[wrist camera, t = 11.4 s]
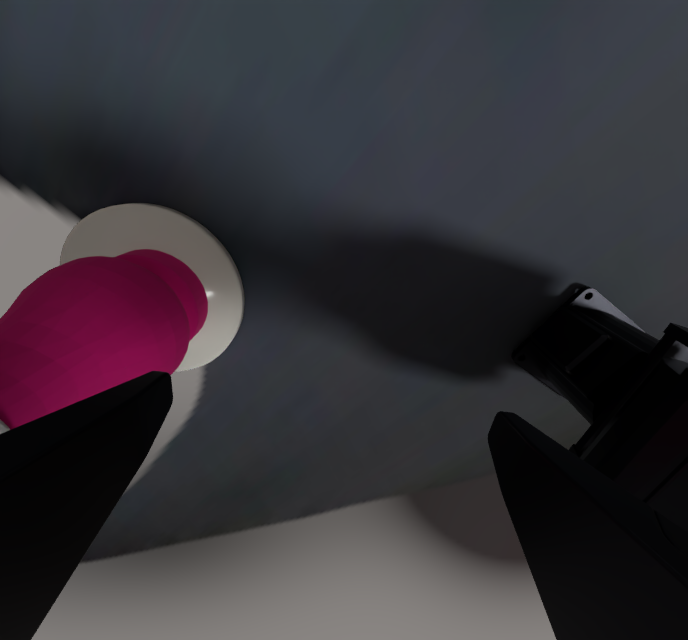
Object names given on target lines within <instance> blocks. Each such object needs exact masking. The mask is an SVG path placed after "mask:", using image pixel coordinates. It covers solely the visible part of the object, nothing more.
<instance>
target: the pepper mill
mask: <svg viewBox="0 0 688 640" xmlns="http://www.w3.org/2000/svg"><path fill="white" fill-rule="evenodd" d="M207 313H208V300H207V296H206V292H205V289H204V287H203V285H202V283H201V281H200V280H199V278H198V277H197V275H196V274H195V273H194V272H193V271H192V270H191V269H190V268H189V267H188V266H187V265H186V264H185V263H183V262H182V261H180V260H179V259H177V258H175V257H174V256H172V255H169V254H167V253H164V252H161V251H158V250H153V249H139V250H133V251H130V252H127V253H124V254H121V255H118V256H116V257H106V256H91V257H84V258H78V259H75V260H72V261H69V262H67V263H65V264H62V265H60V266H58V267H55V268H53V269H51V270H49V271H47V272H46V273H44V274H43V275H42V276H40V277H39V278H37V279H36V280H35V281H34V282H33V283H31V284H30V285H29V286H28V287H27V288H25V289H24V290H23V291H22V292H21V294H20V295H19V296H18V297H17V299H16V300H15V301H14V303H13V304H12V305H11V307H10V308H9V309H8V311H7V312H6V313H5V314H4V315H3V316H2V317H1V318H0V434H1V433H4V432H6V431H9V430H11V429H13V428H16V427H18V426H21V425H23V424H26V423H28V422H30V421H33V420H35V419H38V418H40V417H42V416H45V415H47V414H50V413H52V412H54V411H57V410H59V409H62V408H64V407H66V406H69V405H71V404H74V403H76V402H78V401H81V400H83V399H86V398H88V397H90V396H93V395H95V394H98V393H100V392H102V391H105V390H107V389H110V388H112V387H115V386H117V385H119V384H122V383H124V382H127V381H129V380H131V379H134V378H136V377H139V376H141V375H143V374H146V373H148V372H151V371H162V372H168V373H169V374H170V375H171V374H172V373H173V372H174V371H175V370H176V369H177V368H178V367H179V366H180V364H181V362H182V361H183V359H184V357H185V355H186V353H187V350H188V345H189V342H190V341H191V339H192V338H193V337H194V336H195V335H196V334H197V333H198V332H199V331H200V330H201V328H202V327H203V325H204V323H205V321H206V318H207Z"/></svg>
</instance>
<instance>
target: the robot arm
mask: <svg viewBox="0 0 688 640" xmlns="http://www.w3.org/2000/svg"><path fill="white" fill-rule="evenodd" d="M588 292H589V295H588V296H587V297H585V295H586V294H587V293H588ZM584 297H585V298H584ZM664 333H665V334H664V336H663V337H662V338H661V339H660V341H659V340H658V339H656V338H654V337H652V336H650V335H648V334H647V333H646V332H644V331H643V330H642V329H641V328H640V327H638V326H637V325H636V324H635V323H634V322H633V321H631V320H630V319H629V318H628V317H627V316H626V315H624V314H623V313H622V312H621V311H620V310H618V309H617V308H616V307H615V306H614V305H613V304H611V303H610V302H609V301H608V300H607V299H606V298H604V297H603V296H602V295H601V294H600V293H598V292H597V291H596V290H595V289H592V288H590V287H583V288H581V289H580V290H578V291H577V292H576V293H575V294H574V295H573V296H572V297H571V298H570V299H569V300H568V301H567V302H566V303H565V304H564V305H563V306H562V307H561V308H559V309H558V310H557V311H556V312H555V313H554V314H553V315H552V316H551V317H550V318H549V319H548V320H547V321H546V322H545V323H544V324H543V325H541V326H540V327H539V328H538V329H537V330H536V331H535V332H534V333H533V334H532V335H531V336H530V337H529V338H528V339H527V340H526V341H525V342H523V343H522V344H521V345H520V346H519V347H518V348H517V349H516V350H515V351H514V352H513V353H512V359H513V360H514V361H515V362H516V363H517V364H518V365H519V366H521V367H522V368H524V369H525V370H526V371H528V372H529V373H531V374H532V375H533V376H535V377H536V378H538V379H539V380H540V381H542V382H543V383H545V384H546V385H547V386H549V387H550V388H552V389H553V390H554V391H556V392H557V393H559V394H560V395H561V396H563V397H564V398H566V399H567V400H568V401H569V402H570V403H571V404H572V405H573V406H574V407H575V408H576V409H577V411H578V412H579V413H580V414H581V415H582V416H583V417H584V418H585V419H586V420H587V421H588V422H589V423H590V424H591V426H590V427H589V429H588V430H587V431H586V432H585V433H584V435H583V436H582V437H581V438H580V440H579V441H578V442H577V443H576V445H575V444H573V445H572V446H571V447H570V449H569V450H567V449H566V448H564V447H563V446H562V445H560V444H559V443H557V442H556V441H554V440H553V439H551V438H550V437H548V436H547V435H545V434H544V433H543V432H541V431H540V430H538V429H537V428H535V427H534V426H532V425H531V424H529V423H528V422H527V421H525V420H524V419H522V418H521V417H519V416H518V415H516V414H515V413H511V412H502V411H500V412H498V413H497V414H496V416H495V418H494V421H493V423H492V426H491V428H490V431H489V433H488V444H489V448H490V451H491V455H492V459H493V463H494V466H495V470H496V474H497V478H498V481H499V485H500V489H501V492H502V495H503V498H504V501H505V504H506V507H507V509H508V512H509V515H510V517H511V520H512V523H513V525H514V528H515V531H516V533H517V536H518V539H519V541H520V544H521V546H522V549H523V552H524V554H525V557H526V559H527V562H528V565H529V568H530V570H531V573H532V576H533V578H534V581H535V584H536V586H537V589H538V592H539V594H540V597H541V600H542V602H543V605H544V608H545V610H546V613H547V615H548V618H549V621H550V623H551V626H552V629H553V631H554V634H555V637H556V639H557V640H688V328H686V327H683V326H680V325H677V324H674V323H670V324H669V325H668V327H667V328H666V329H665V330H664ZM520 355H523V356H522V357H521V358H518V357H519V356H520ZM172 401H173V393H172V382H171V376H170V374H169V373H168V372H162V371H151V372H148V373H146V374H143V375H141V376H139V377H136V378H134V379H131V380H129V381H127V382H124V383H122V384H119V385H117V386H115V387H112V388H110V389H107V390H105V391H102V392H100V393H98V394H95V395H93V396H90V397H88V398H86V399H83V400H81V401H78V402H76V403H74V404H71V405H69V406H66V407H64V408H62V409H59V410H57V411H54V412H52V413H50V414H47V415H45V416H42V417H40V418H38V419H35V420H33V421H30V422H28V423H26V424H23V425H21V426H18V427H16V428H13V429H11V430H9V431H6V432H4V433H1V434H0V640H31V639H32V637H33V636H34V634H35V632H36V631H37V629H38V628H39V626H40V624H41V623H42V621H43V620H44V618H45V617H46V615H47V613H48V612H49V610H50V609H51V607H52V605H53V604H54V602H55V601H56V599H57V598H58V596H59V594H60V593H61V591H62V590H63V588H64V586H65V585H66V583H67V582H68V580H69V579H70V577H71V575H72V574H73V572H74V570H75V569H76V567H77V566H78V564H79V563H80V561H81V560H82V558H83V556H84V555H85V553H86V552H87V550H88V548H89V547H90V545H91V544H92V542H93V541H94V539H95V537H96V536H97V534H98V533H99V531H100V529H101V528H102V526H103V525H104V523H105V522H106V520H107V518H108V517H109V515H110V514H111V512H112V510H113V509H114V507H115V506H116V504H117V503H118V501H119V499H120V498H121V496H122V495H123V493H124V491H125V490H126V488H127V487H128V485H129V483H130V482H131V480H132V479H133V477H134V476H135V474H136V472H137V471H138V469H139V468H140V466H141V464H142V463H143V461H144V459H145V458H146V456H147V454H148V452H149V450H150V448H151V446H152V444H153V442H154V440H155V438H156V436H157V434H158V432H159V430H160V428H161V426H162V424H163V422H164V420H165V418H166V415H167V413H168V412H169V410H170V407H171V405H172Z"/></svg>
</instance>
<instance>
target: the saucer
mask: <svg viewBox="0 0 688 640" xmlns="http://www.w3.org/2000/svg"><path fill="white" fill-rule="evenodd" d="M139 249H153V250H158V251H161V252H164V253H167V254H169V255H172V256H174V257H175V258H177V259H179V260H180V261H182V262H183V263H185V264H186V265H187V266H188V267H189V268H190V269H191V270H192V271H193V272H194V273H195V274H196V275H197V277H198V278H199V280H200V281H201V283H202V285H203V287H204V289H205V292H206V296H207V300H208V313H207V318H206V321H205V323H204V325H203V327H202V328H201V330H200V331H199V332H198V333H197V334H196V335H195V336H194V337H193V338H192V339H191V341H190V342H189V345H188V350H187V353H186V355H185V357H184V359H183V361H182V362H181V364H180V366H179V367H178V368H177V369H176V370H175V371H174V372H177V371H186V370H191V369H195V368H198V367H201V366H203V365H205V364H207V363H209V362H211V361H212V360H214V359H215V358H217V357H218V356H219V355H220V354H221V353H222V352H223V351H224V350H225V349H226V348H227V347H228V345H229V344H230V343H231V341H232V340H233V338H234V337H235V335H236V334H237V332H238V330H239V328H240V325H241V322H242V319H243V314H244V308H245V296H244V288H243V284H242V280H241V277H240V274H239V271H238V269H237V266H236V265H235V263H234V261H233V259H232V257H231V256H230V254H229V253H228V251H227V250H226V248H225V247H224V246H223V245H222V243H221V242H220V241H219V240H218V239H217V238H216V237H215V236H214V235H213V234H212V233H211V232H210V231H209V230H208V229H207V228H205V227H204V226H203V225H201V224H200V223H199V222H197V221H196V220H194V219H192V218H191V217H189V216H187V215H185V214H183V213H181V212H179V211H176V210H174V209H171V208H168V207H165V206H161V205H156V204H150V203H129V204H121V205H114V206H110V207H106V208H102V209H100V210H97V211H95V212H93V213H91V214H89V215H88V216H86V217H85V218H83V219H82V220H81V221H80V222H79V223H78V224H77V225H76V226H75V227H74V228H73V229H72V231H71V232H70V234H69V235H68V237H67V239H66V241H65V243H64V245H63V249H62V253H61V257H60V265H62V264H65V263H67V262H69V261H72V260H75V259H78V258H84V257H91V256H106V257H116V256H118V255H121V254H124V253H127V252H130V251H133V250H139Z"/></svg>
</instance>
